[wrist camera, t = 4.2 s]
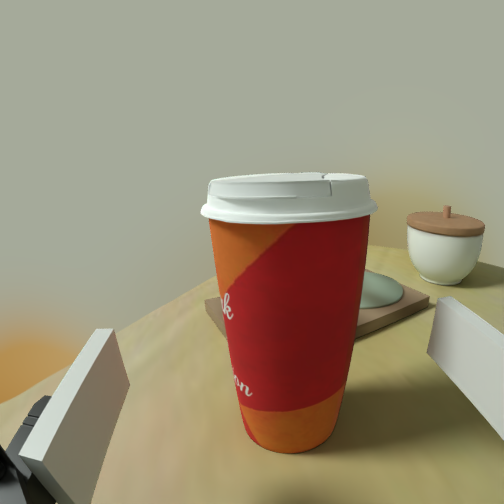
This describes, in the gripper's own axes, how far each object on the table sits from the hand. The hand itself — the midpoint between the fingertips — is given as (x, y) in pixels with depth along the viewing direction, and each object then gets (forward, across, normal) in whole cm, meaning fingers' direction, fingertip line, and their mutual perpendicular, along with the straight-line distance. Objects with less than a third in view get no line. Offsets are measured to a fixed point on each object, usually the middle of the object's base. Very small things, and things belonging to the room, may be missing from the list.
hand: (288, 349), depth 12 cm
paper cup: (+4, +1, -8) cm, 9 cm away
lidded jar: (+23, +25, -8) cm, 35 cm away
